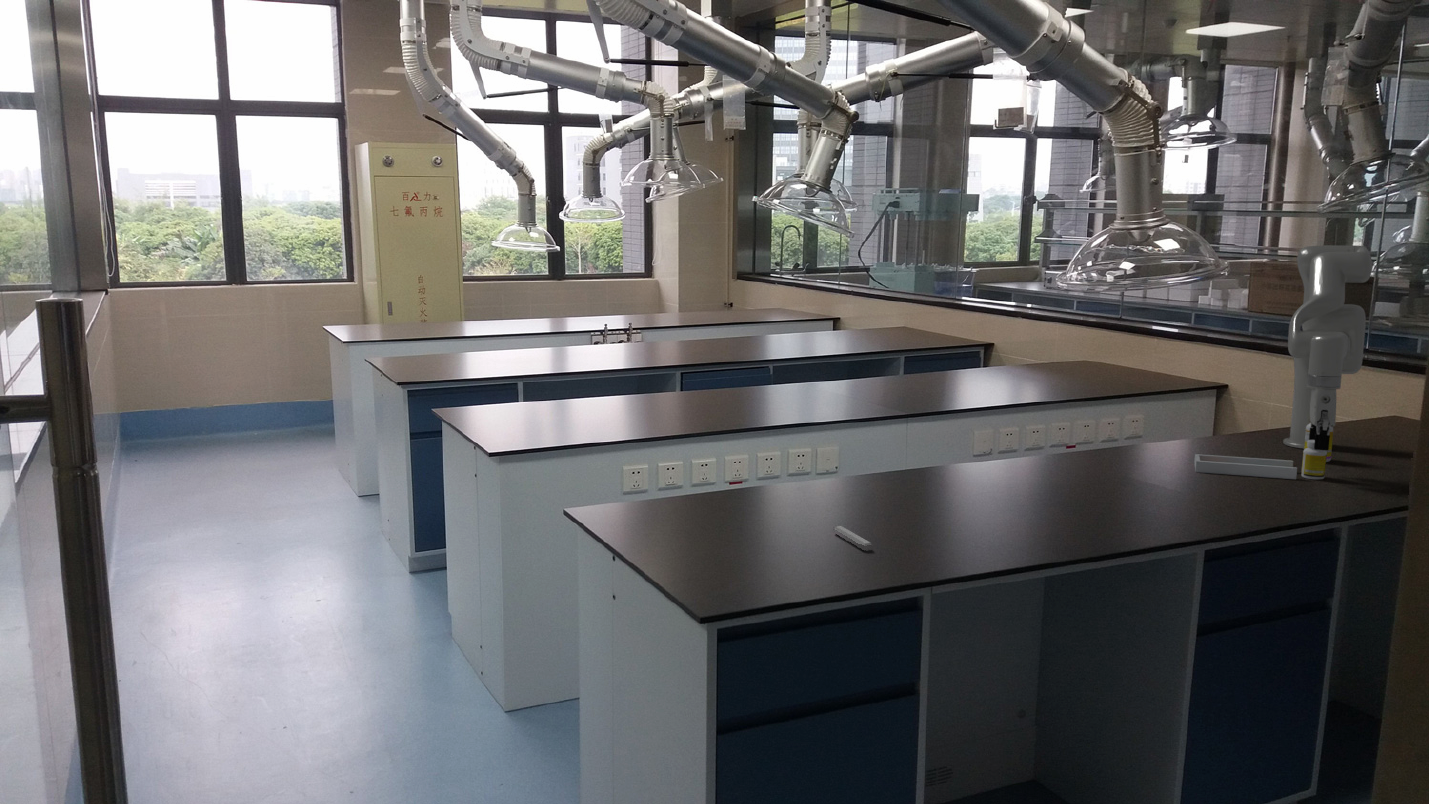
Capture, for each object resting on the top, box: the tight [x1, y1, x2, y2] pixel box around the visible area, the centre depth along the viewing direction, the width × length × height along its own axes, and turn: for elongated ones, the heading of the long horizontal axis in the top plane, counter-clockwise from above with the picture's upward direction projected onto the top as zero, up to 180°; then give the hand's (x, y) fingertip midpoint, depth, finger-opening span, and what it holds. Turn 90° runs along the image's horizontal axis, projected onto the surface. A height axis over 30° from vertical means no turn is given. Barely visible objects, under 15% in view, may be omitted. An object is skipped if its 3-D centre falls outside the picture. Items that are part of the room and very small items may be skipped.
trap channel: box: [1194, 453, 1298, 480], centre depth 278 cm, size 9×24×3 cm, turn 67°
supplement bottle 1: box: [1303, 423, 1334, 463], centre depth 288 cm, size 7×7×13 cm
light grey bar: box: [834, 525, 872, 546], centre depth 225 cm, size 3×2×16 cm
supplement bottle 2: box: [1301, 440, 1327, 480], centre depth 270 cm, size 5×5×10 cm
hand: (1318, 446), depth 270 cm, fingers open, 9 cm apart
